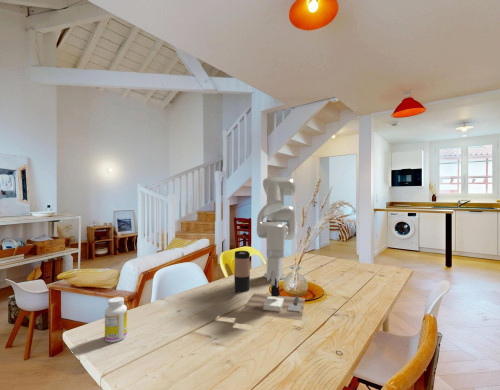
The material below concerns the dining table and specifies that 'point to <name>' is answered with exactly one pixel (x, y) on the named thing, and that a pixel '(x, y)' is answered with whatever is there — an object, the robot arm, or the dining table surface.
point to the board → (257, 307)
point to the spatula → (294, 306)
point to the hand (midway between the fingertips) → (275, 295)
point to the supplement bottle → (115, 320)
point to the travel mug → (242, 271)
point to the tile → (274, 304)
